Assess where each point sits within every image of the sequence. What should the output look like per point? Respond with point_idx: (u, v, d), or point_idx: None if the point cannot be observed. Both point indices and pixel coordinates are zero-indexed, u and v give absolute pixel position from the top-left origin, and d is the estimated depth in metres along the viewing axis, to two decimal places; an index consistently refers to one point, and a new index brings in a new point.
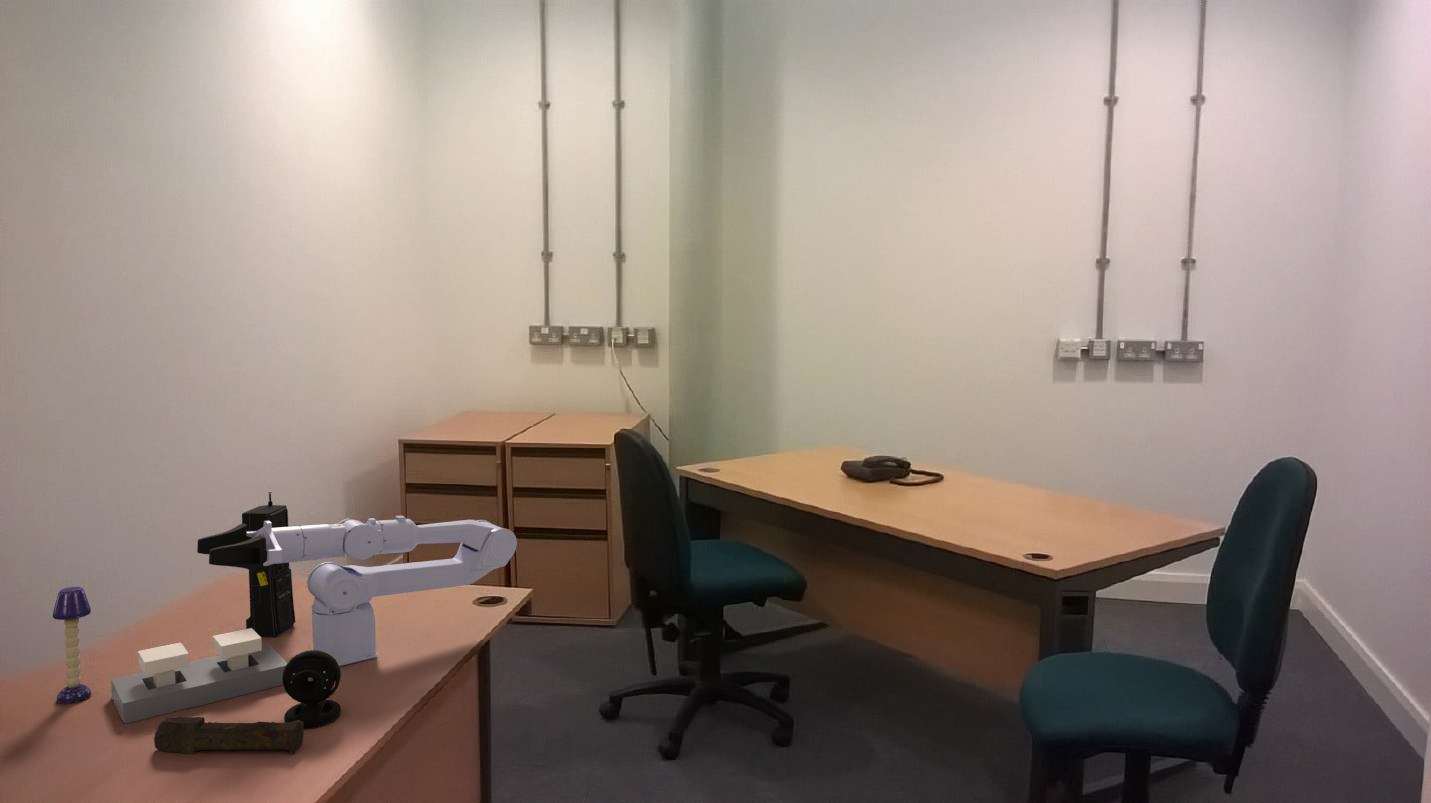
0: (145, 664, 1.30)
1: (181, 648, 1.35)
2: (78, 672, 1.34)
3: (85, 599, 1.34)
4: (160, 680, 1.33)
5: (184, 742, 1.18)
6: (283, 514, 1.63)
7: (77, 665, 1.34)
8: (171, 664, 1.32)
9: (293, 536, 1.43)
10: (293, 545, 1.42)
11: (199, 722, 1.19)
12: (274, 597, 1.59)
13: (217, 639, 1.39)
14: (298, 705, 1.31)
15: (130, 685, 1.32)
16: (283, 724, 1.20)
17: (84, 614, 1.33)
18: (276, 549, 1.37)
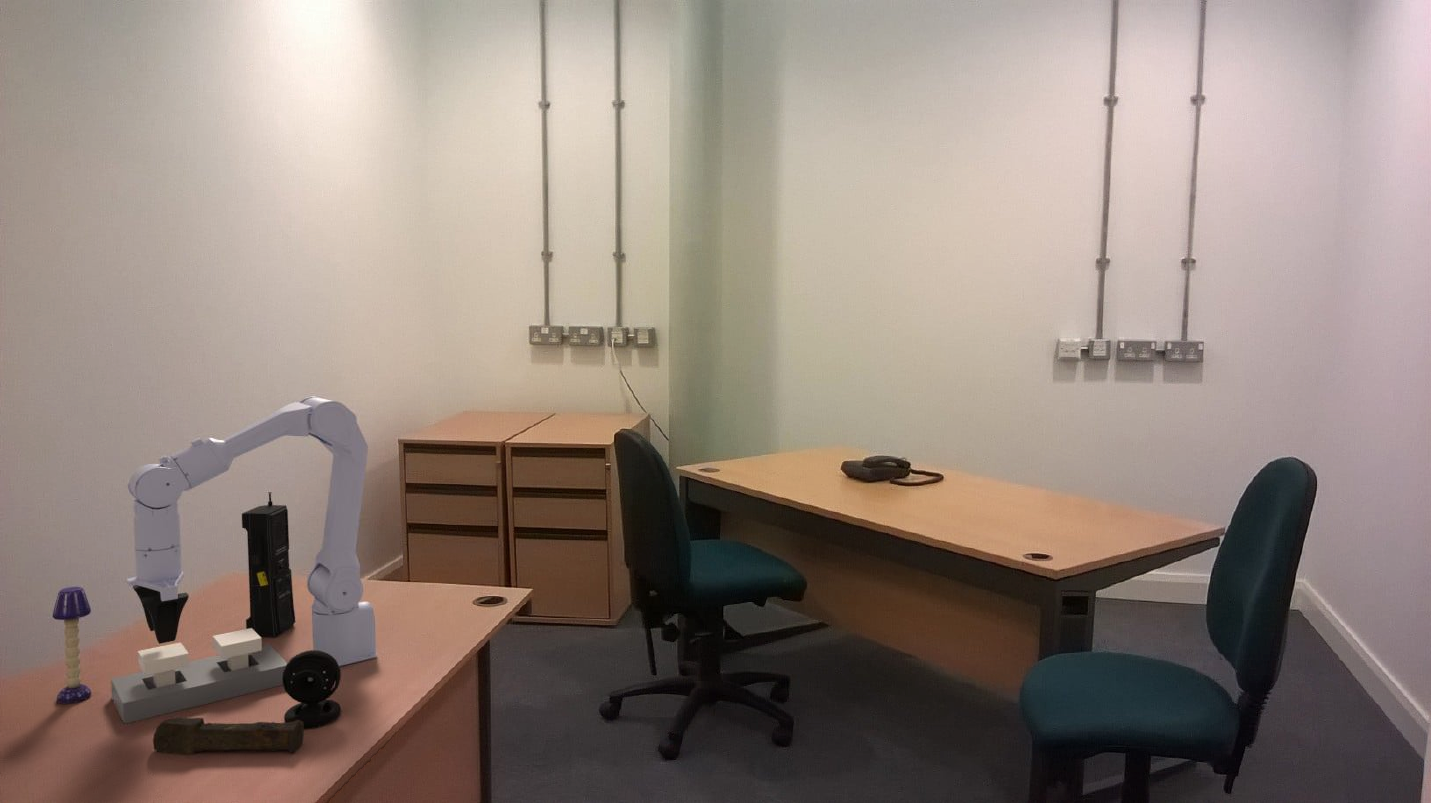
0: (145, 664, 1.30)
1: (181, 648, 1.35)
2: (78, 672, 1.34)
3: (85, 599, 1.34)
4: (160, 680, 1.33)
5: (184, 743, 1.18)
6: (283, 514, 1.63)
7: (77, 665, 1.34)
8: (171, 664, 1.32)
9: (147, 560, 1.30)
10: (158, 561, 1.30)
11: (198, 723, 1.19)
12: (274, 597, 1.59)
13: (217, 639, 1.39)
14: (298, 705, 1.31)
15: (130, 685, 1.32)
16: (283, 724, 1.20)
17: (84, 614, 1.33)
18: (160, 592, 1.27)
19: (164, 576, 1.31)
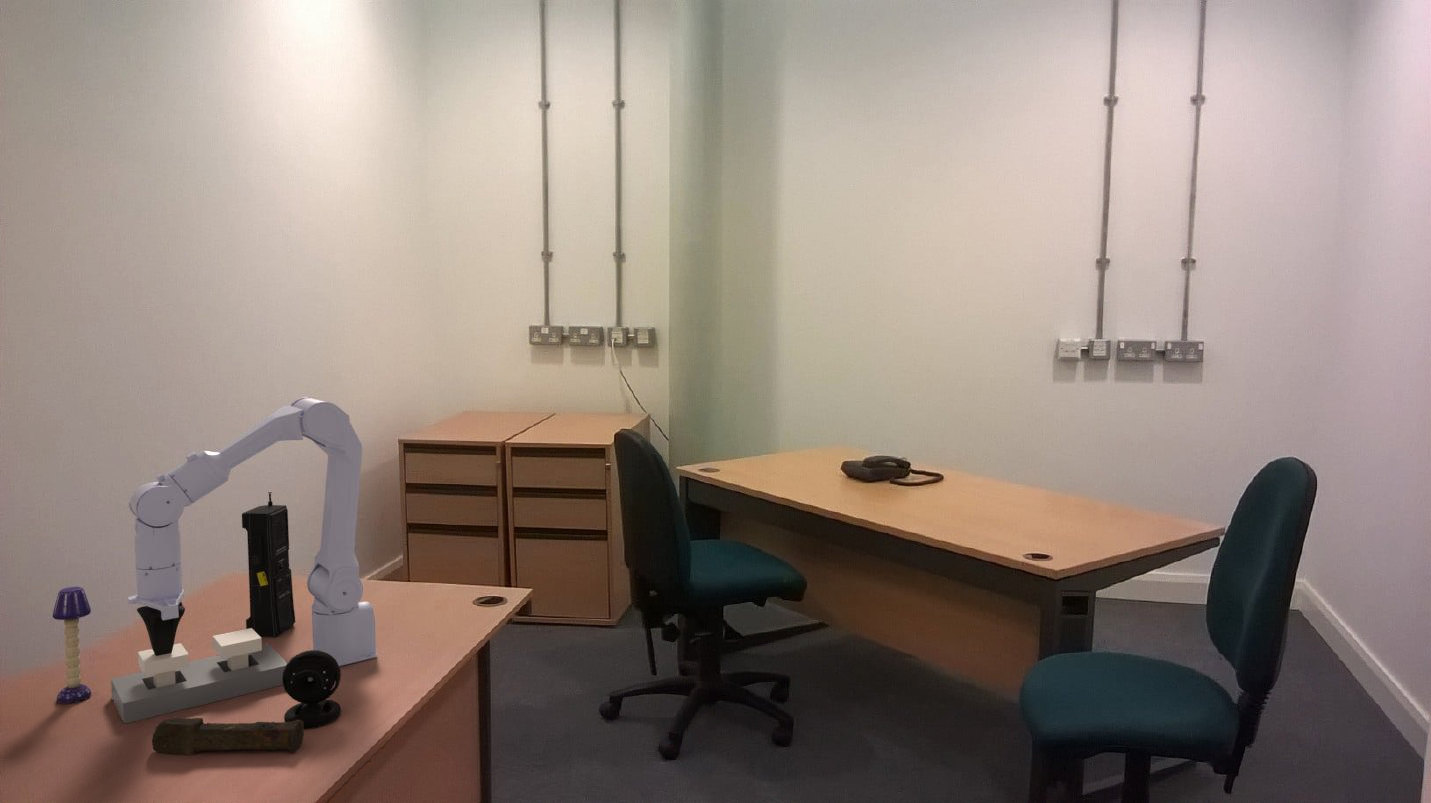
0: (145, 665, 1.30)
1: (181, 649, 1.35)
2: (78, 672, 1.34)
3: (85, 599, 1.34)
4: (160, 681, 1.33)
5: (183, 743, 1.18)
6: (283, 514, 1.63)
7: (77, 665, 1.34)
8: (171, 665, 1.32)
9: (148, 579, 1.30)
10: (159, 579, 1.30)
11: (198, 723, 1.19)
12: (274, 597, 1.59)
13: (217, 639, 1.39)
14: (298, 705, 1.31)
15: (130, 685, 1.32)
16: (283, 724, 1.20)
17: (84, 614, 1.33)
18: (161, 611, 1.27)
19: (165, 594, 1.31)
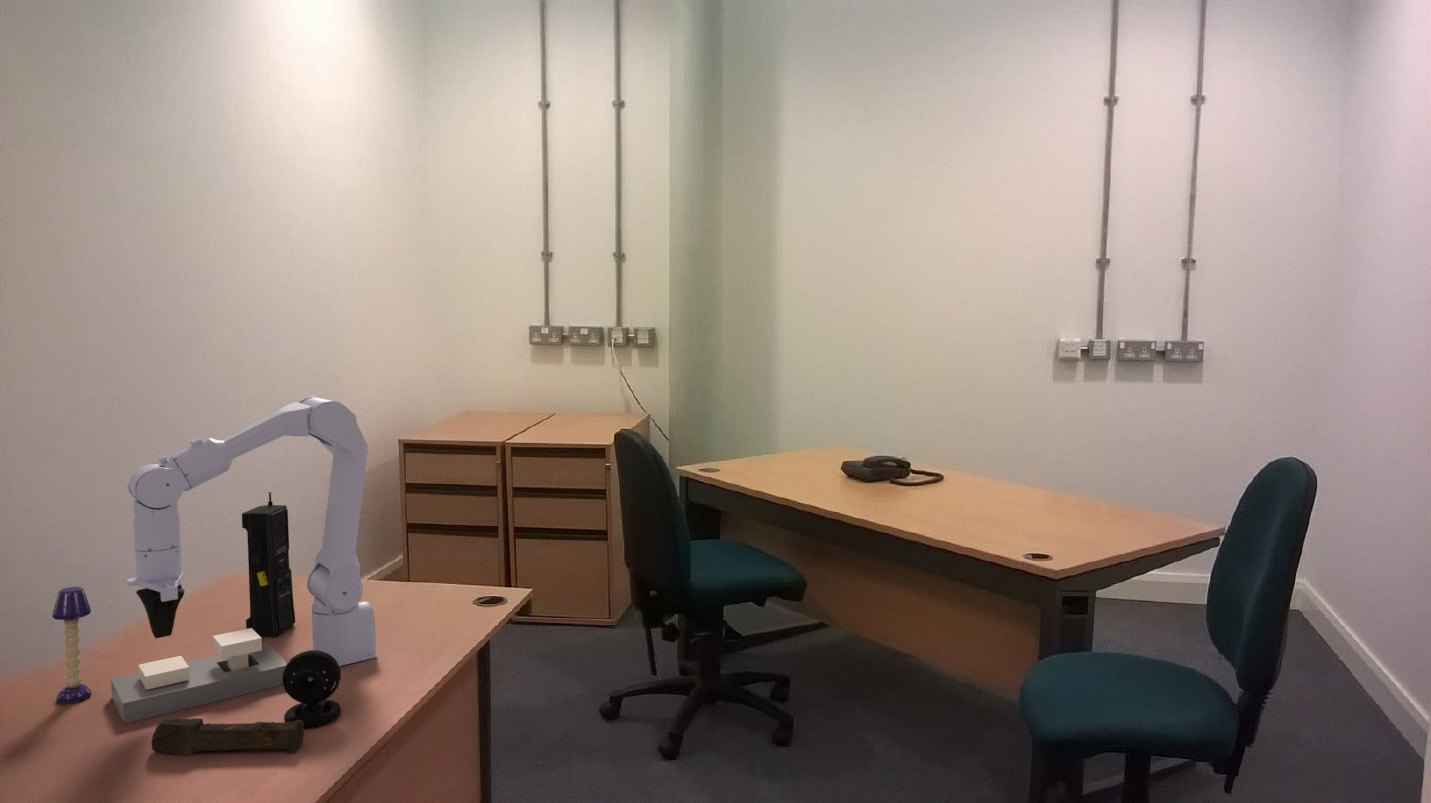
0: (146, 678, 1.30)
1: (182, 661, 1.36)
2: (78, 672, 1.34)
3: (85, 599, 1.34)
4: None
5: (183, 743, 1.18)
6: (283, 514, 1.63)
7: (77, 665, 1.34)
8: (172, 678, 1.32)
9: (147, 561, 1.30)
10: (158, 561, 1.30)
11: (198, 724, 1.19)
12: (274, 597, 1.59)
13: (217, 639, 1.39)
14: (298, 705, 1.31)
15: (130, 685, 1.32)
16: (283, 724, 1.21)
17: (84, 614, 1.33)
18: (160, 593, 1.27)
19: (164, 576, 1.31)
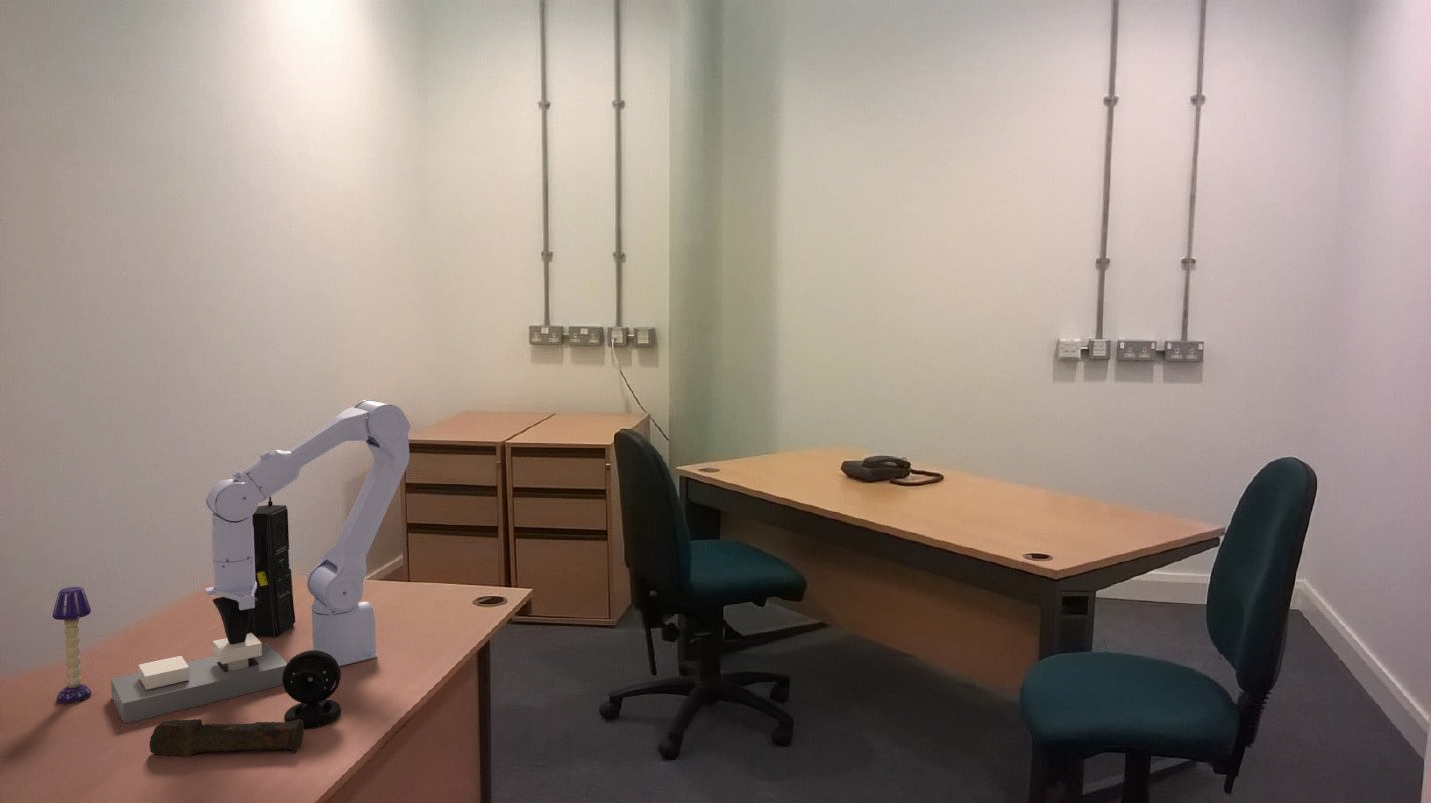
0: (146, 678, 1.30)
1: (182, 661, 1.36)
2: (78, 672, 1.34)
3: (85, 599, 1.34)
4: None
5: (182, 744, 1.18)
6: (283, 514, 1.63)
7: (77, 665, 1.34)
8: (172, 678, 1.32)
9: (225, 571, 1.36)
10: (235, 571, 1.37)
11: (197, 724, 1.18)
12: (274, 597, 1.59)
13: (217, 644, 1.39)
14: (298, 705, 1.31)
15: (130, 685, 1.32)
16: (283, 723, 1.21)
17: (84, 614, 1.33)
18: (239, 602, 1.34)
19: (240, 586, 1.38)
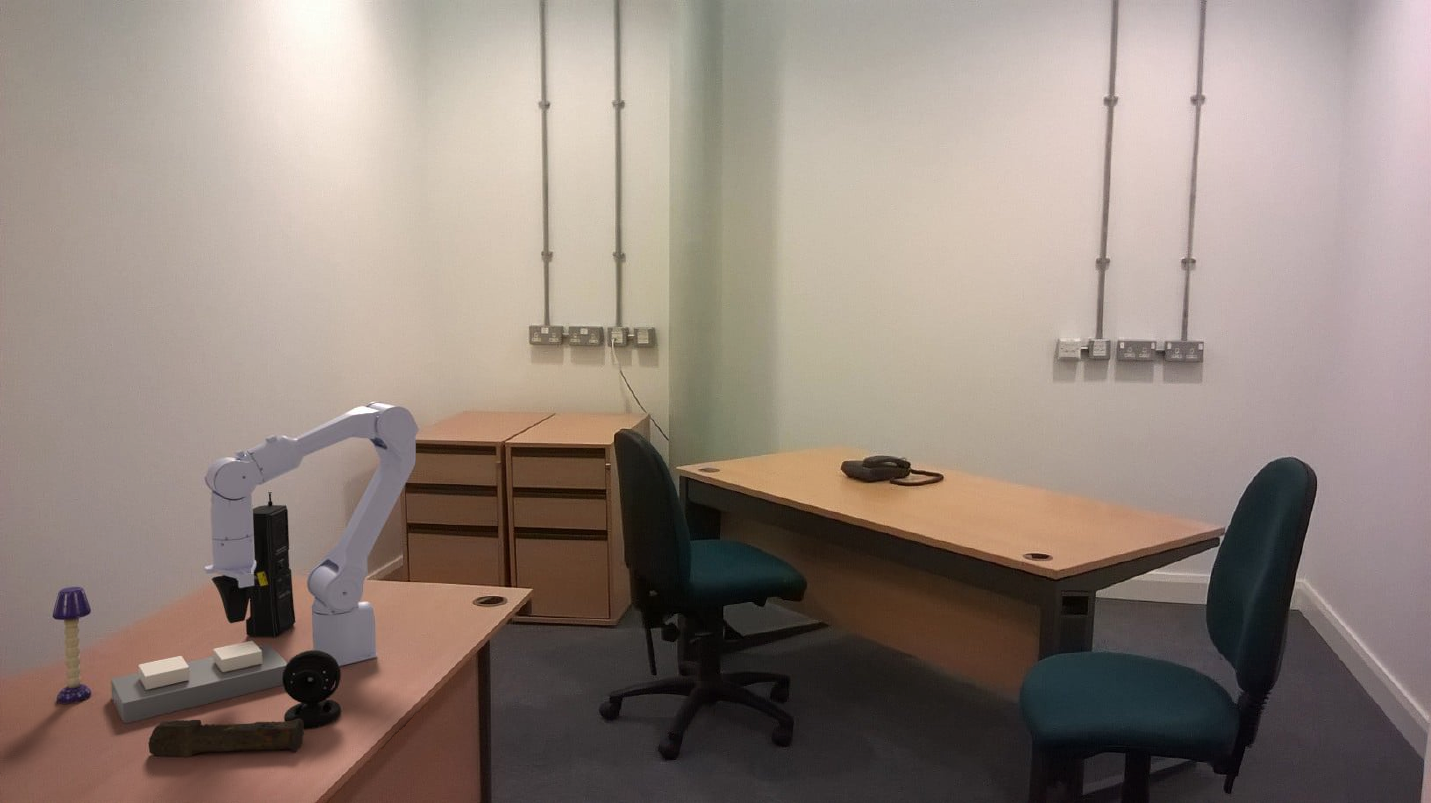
0: (146, 678, 1.30)
1: (182, 661, 1.36)
2: (78, 672, 1.34)
3: (85, 599, 1.34)
4: None
5: (181, 745, 1.17)
6: (283, 514, 1.63)
7: (77, 665, 1.34)
8: (172, 678, 1.32)
9: (224, 549, 1.36)
10: (234, 549, 1.37)
11: (197, 725, 1.18)
12: (274, 597, 1.59)
13: (218, 652, 1.40)
14: (298, 705, 1.31)
15: (130, 685, 1.32)
16: (283, 723, 1.21)
17: (84, 614, 1.33)
18: (238, 579, 1.34)
19: (240, 564, 1.37)
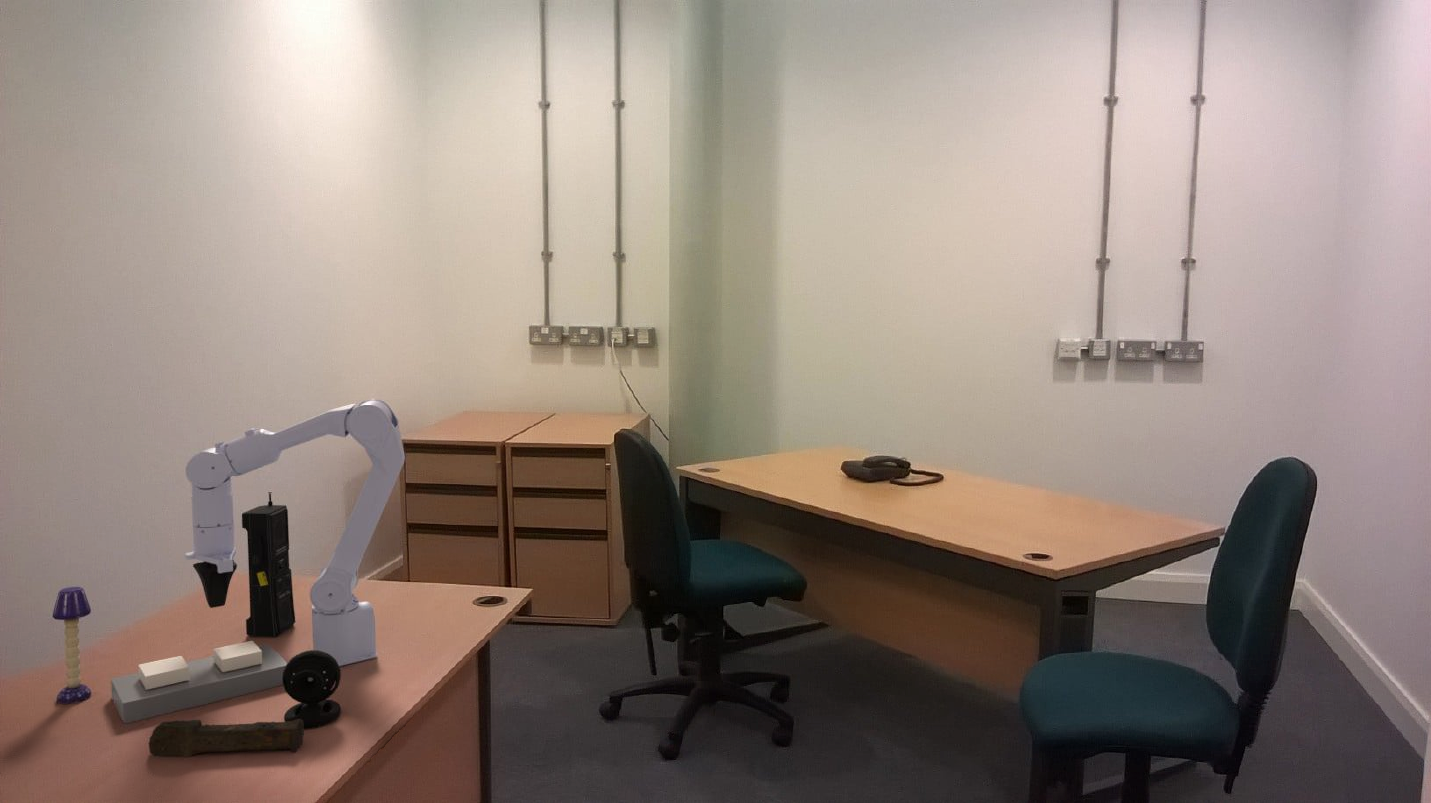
0: (146, 678, 1.30)
1: (182, 661, 1.36)
2: (78, 672, 1.34)
3: (85, 599, 1.34)
4: None
5: (182, 745, 1.18)
6: (283, 514, 1.63)
7: (77, 665, 1.34)
8: (172, 678, 1.32)
9: (204, 536, 1.41)
10: (214, 536, 1.42)
11: (197, 725, 1.18)
12: (274, 597, 1.59)
13: (218, 652, 1.40)
14: (298, 705, 1.31)
15: (130, 685, 1.32)
16: (284, 723, 1.21)
17: (84, 614, 1.33)
18: (217, 565, 1.39)
19: (219, 551, 1.42)
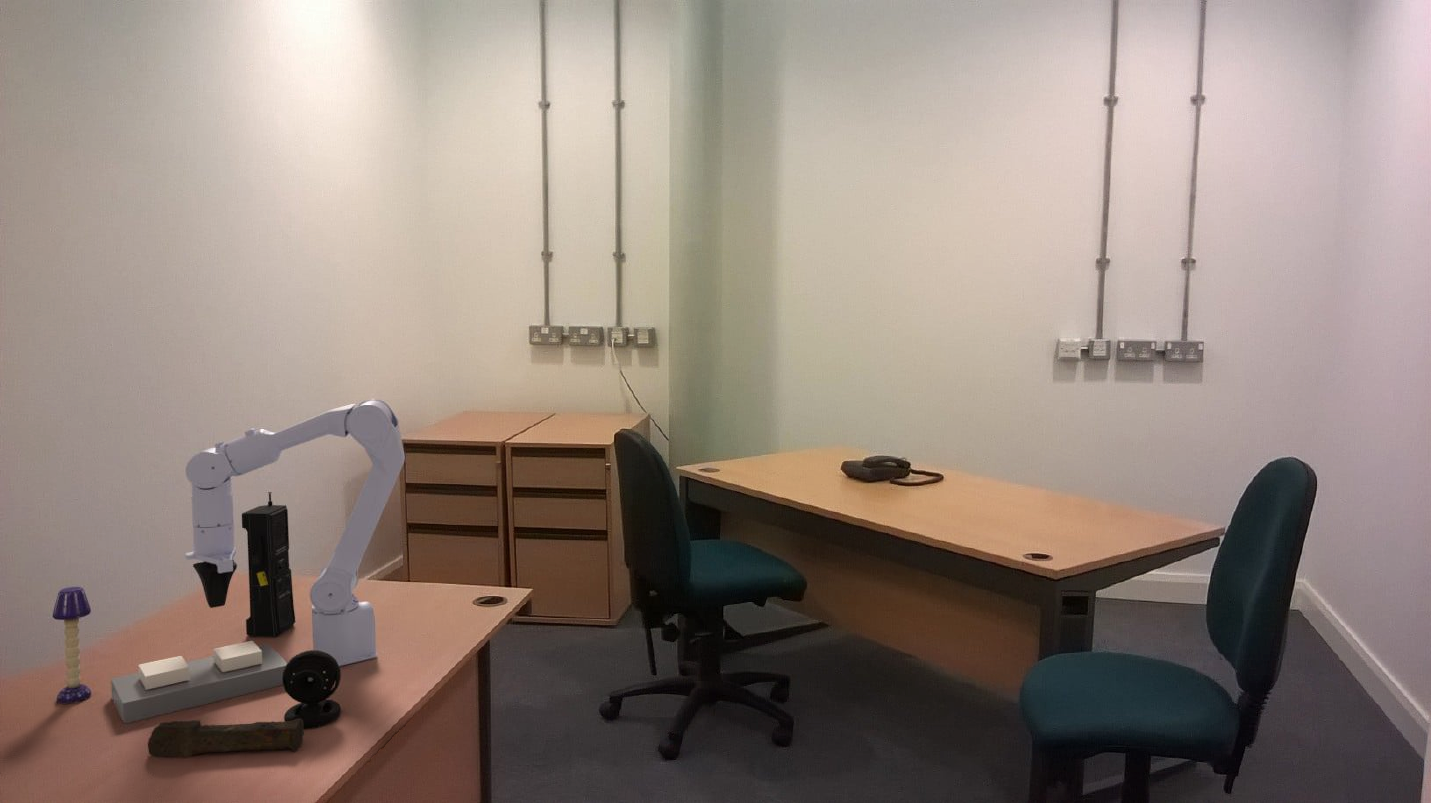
0: (146, 678, 1.30)
1: (182, 661, 1.36)
2: (78, 672, 1.34)
3: (85, 599, 1.34)
4: None
5: (181, 746, 1.17)
6: (283, 514, 1.63)
7: (77, 665, 1.34)
8: (172, 678, 1.32)
9: (204, 536, 1.41)
10: (214, 536, 1.42)
11: (196, 725, 1.18)
12: (274, 597, 1.59)
13: (218, 652, 1.40)
14: (298, 705, 1.31)
15: (130, 685, 1.32)
16: (284, 723, 1.21)
17: (84, 614, 1.33)
18: (217, 565, 1.39)
19: (219, 551, 1.42)
